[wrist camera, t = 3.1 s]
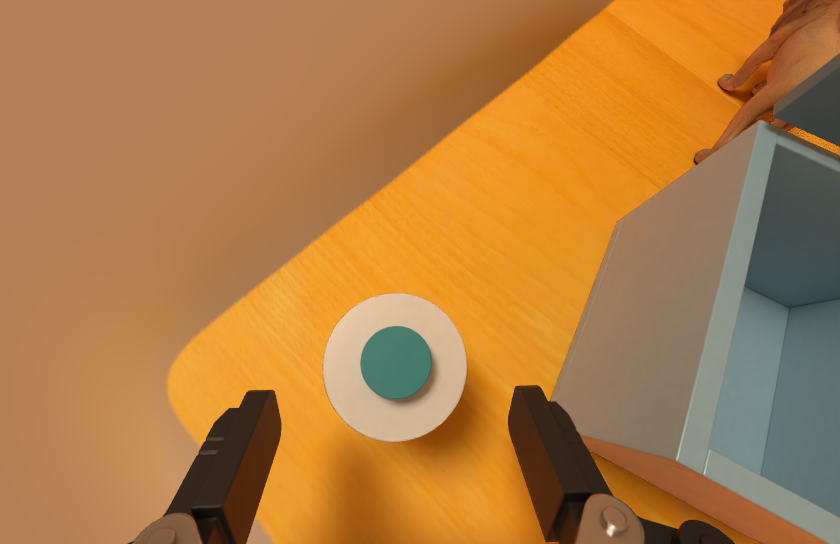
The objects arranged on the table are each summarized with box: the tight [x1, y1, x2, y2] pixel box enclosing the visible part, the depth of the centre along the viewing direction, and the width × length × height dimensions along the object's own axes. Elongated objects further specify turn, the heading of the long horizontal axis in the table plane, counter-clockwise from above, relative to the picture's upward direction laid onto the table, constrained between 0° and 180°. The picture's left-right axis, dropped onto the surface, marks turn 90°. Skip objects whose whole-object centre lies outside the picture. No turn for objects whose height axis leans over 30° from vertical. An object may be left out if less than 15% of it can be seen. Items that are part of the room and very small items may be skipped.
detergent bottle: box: [323, 293, 467, 442], centre depth 15 cm, size 5×5×8 cm
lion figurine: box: [695, 0, 840, 163], centre depth 22 cm, size 15×5×9 cm, turn 160°
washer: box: [550, 120, 840, 544], centre depth 16 cm, size 14×12×9 cm
